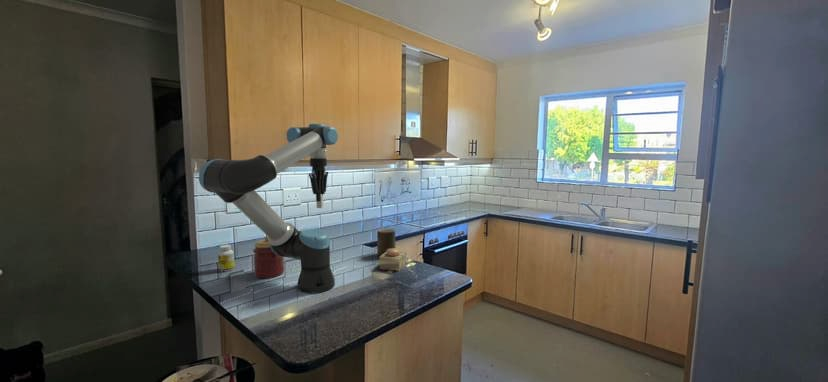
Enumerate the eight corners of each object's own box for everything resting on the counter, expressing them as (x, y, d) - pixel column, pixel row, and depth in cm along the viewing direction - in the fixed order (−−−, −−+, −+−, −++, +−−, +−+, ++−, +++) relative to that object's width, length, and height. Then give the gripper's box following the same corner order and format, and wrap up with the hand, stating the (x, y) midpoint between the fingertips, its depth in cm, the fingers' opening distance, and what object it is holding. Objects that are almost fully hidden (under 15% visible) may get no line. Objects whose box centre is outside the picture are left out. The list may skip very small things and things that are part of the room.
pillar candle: (391, 258, 181) (391, 230, 180) (374, 256, 184) (374, 229, 183) (398, 253, 190) (398, 226, 189) (381, 251, 194) (381, 225, 192)
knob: (396, 268, 165) (396, 252, 164) (384, 266, 167) (384, 251, 166) (401, 263, 171) (401, 248, 170) (389, 262, 173) (389, 247, 172)
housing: (399, 271, 163) (399, 258, 163) (379, 268, 166) (379, 256, 166) (406, 264, 173) (406, 252, 172) (387, 262, 176) (387, 250, 175)
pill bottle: (217, 269, 166) (215, 246, 164) (231, 266, 170) (230, 243, 169) (222, 273, 161) (220, 248, 160) (236, 269, 166) (235, 245, 164)
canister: (247, 276, 157) (245, 238, 155) (268, 267, 169) (266, 231, 167) (270, 280, 152) (268, 241, 150) (290, 270, 164) (288, 234, 162)
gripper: (317, 158, 154) (319, 210, 157) (332, 157, 166) (334, 206, 169) (302, 158, 156) (304, 209, 159) (319, 157, 168) (320, 205, 171)
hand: (320, 207), depth 164 cm, fingers closed
